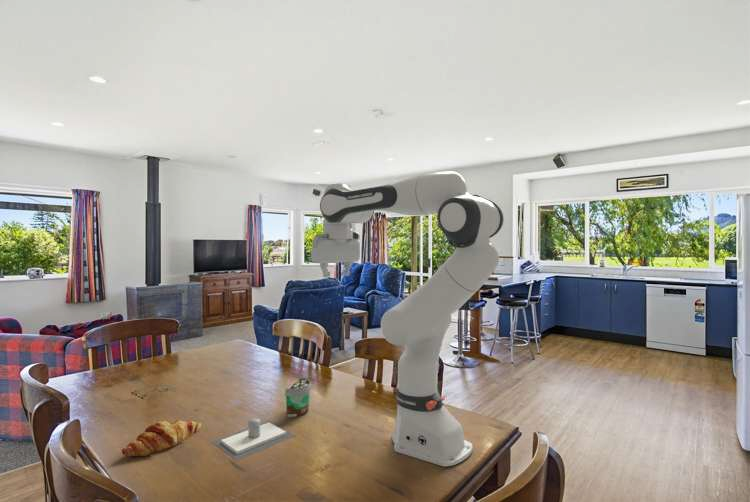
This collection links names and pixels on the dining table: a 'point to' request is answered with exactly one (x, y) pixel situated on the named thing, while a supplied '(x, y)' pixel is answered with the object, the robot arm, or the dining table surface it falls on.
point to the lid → (253, 436)
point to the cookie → (153, 388)
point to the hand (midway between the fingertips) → (336, 276)
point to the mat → (253, 450)
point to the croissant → (161, 437)
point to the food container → (298, 398)
